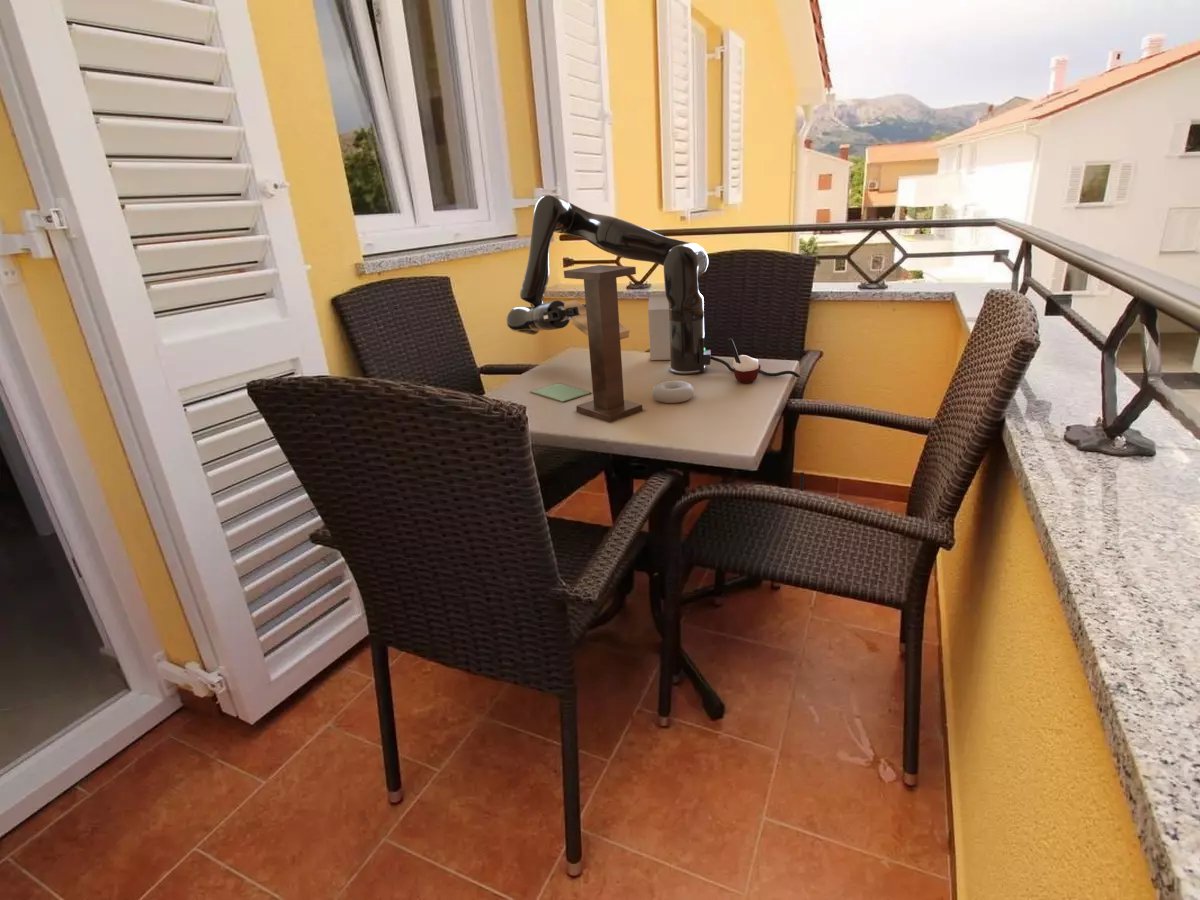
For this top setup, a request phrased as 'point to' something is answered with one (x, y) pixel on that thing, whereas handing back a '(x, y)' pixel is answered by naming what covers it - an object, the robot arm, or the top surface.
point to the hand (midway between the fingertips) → (583, 309)
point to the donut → (672, 391)
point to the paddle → (581, 319)
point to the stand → (604, 342)
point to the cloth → (560, 392)
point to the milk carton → (659, 327)
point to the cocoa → (744, 366)
